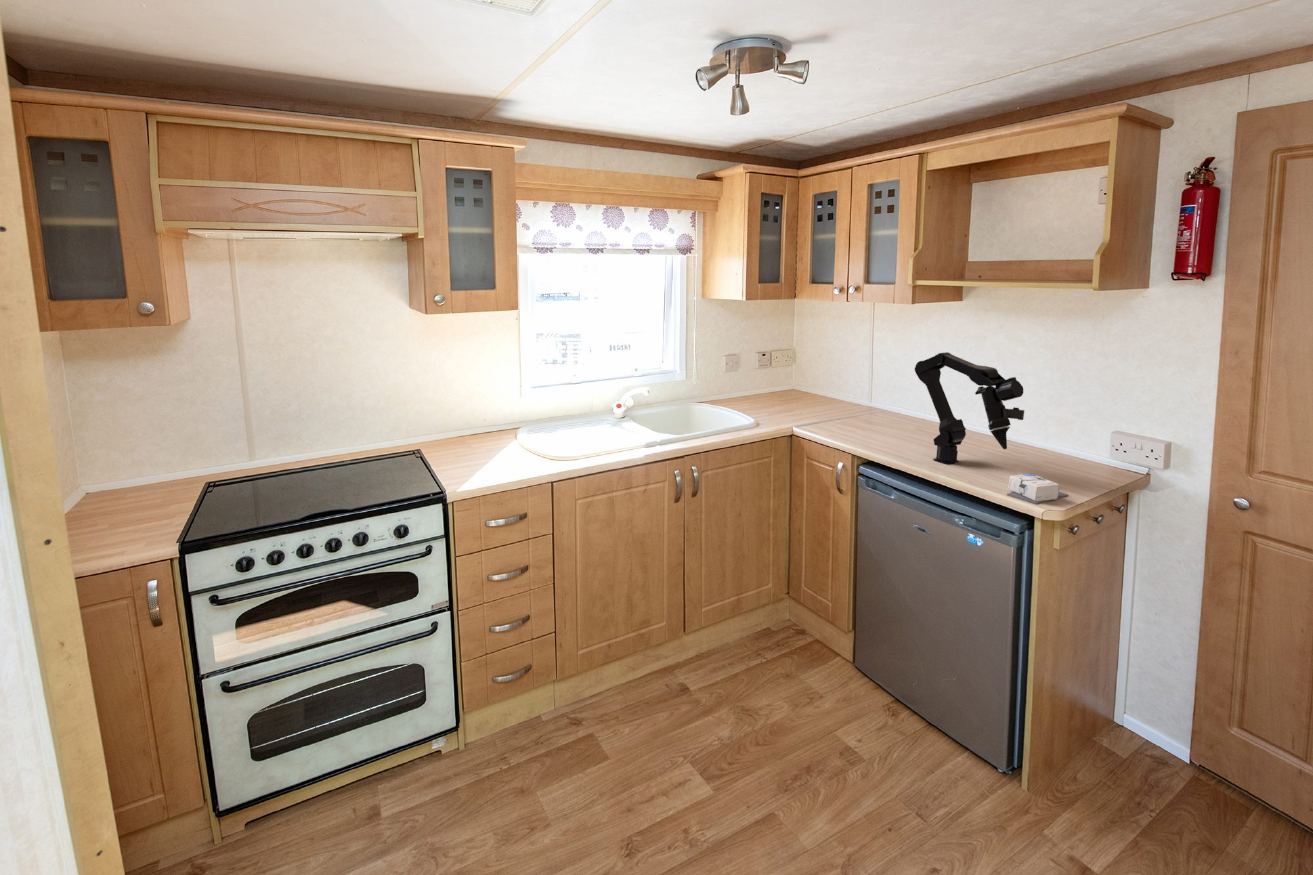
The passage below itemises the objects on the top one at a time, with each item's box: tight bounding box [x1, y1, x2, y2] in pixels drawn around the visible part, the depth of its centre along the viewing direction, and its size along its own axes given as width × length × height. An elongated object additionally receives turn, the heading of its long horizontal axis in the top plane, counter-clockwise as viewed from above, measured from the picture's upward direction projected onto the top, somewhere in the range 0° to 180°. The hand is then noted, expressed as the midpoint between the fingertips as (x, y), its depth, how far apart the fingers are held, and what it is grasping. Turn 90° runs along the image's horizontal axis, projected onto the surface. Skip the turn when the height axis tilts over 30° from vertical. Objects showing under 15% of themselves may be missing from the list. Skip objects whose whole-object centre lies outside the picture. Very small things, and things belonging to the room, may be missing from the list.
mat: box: [1006, 491, 1069, 505], centre depth 230 cm, size 10×16×1 cm, turn 119°
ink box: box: [1007, 473, 1060, 501], centre depth 229 cm, size 9×5×12 cm
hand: (1005, 449), depth 245 cm, fingers closed
